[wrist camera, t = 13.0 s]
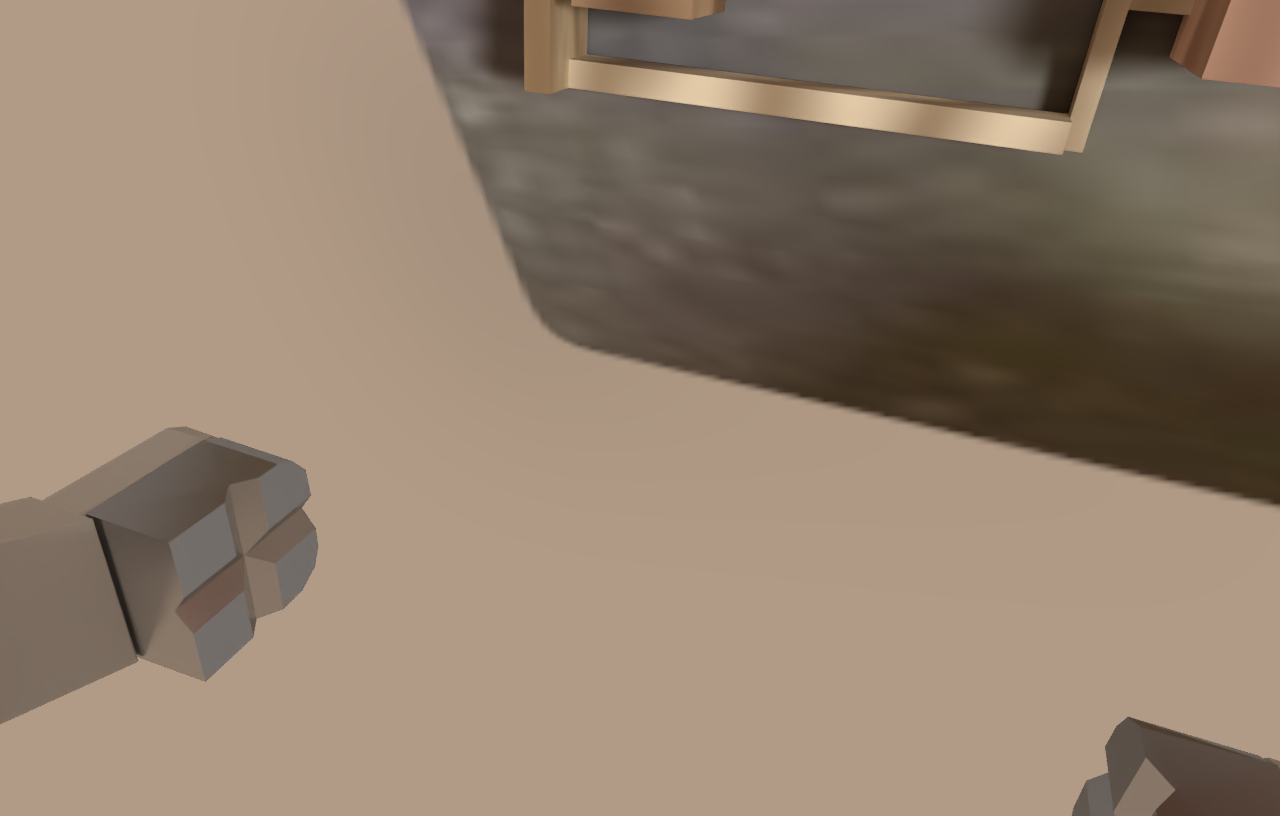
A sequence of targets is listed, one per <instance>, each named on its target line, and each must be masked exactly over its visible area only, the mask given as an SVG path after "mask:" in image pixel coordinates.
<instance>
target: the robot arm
mask: <svg viewBox="0 0 1280 816" xmlns="http://www.w3.org/2000/svg"><path fill="white" fill-rule="evenodd" d="M310 495H311V494H310V489H309V484H308V479H307V475H306V470H305V469H303V468H302V467H300V466H299V465H297V464H295V463H294V462H292V461H289V460H286V459H283V458H280V457H278V456H275V455H271V454H268V453H266V452H262V451H259V450H257V449H254V448H251V447H248V446H245V445H242V444H239V443H236V442H233V441H230V440H227V439H224V438H217V437H214V436H211V435H209V434H206V433H203V432H200V431H197V430H194V429H191V428H188V427H175V428H174V427H173V428H166V429H165V430H163V431H161V432H159V433H158V434H156V435H154V436H153V437H151V438H149V439H147V440H146V441H144V442H142V443H140V444H139V445H137V446H135V447H133V448H132V449H130V450H128V451H127V452H125V453H123V454H122V455H120V456H118V457H116V458H115V459H113V460H111V461H109V462H108V463H106V464H104V465H102V466H101V467H99V468H97V469H96V470H94V471H92V472H90V473H89V474H87V475H85V476H83V477H82V478H80V479H78V480H77V481H75V482H73V483H71V484H70V485H68V486H66V487H65V488H63V489H61V490H59V491H58V492H56V493H54V494H53V495H51V496H49V497H47V498H46V499H44V500H42V501H41V500H38V499H35V498H32V497H28V498H23V499H19V500H15V501H10V502H6V503H2V504H0V724H2V723H4V722H6V721H9V720H11V719H13V718H15V717H17V716H19V715H22V714H24V713H26V712H28V711H30V710H33V709H35V708H37V707H39V706H42V705H44V704H46V703H48V702H50V701H52V700H55V699H57V698H59V697H61V696H64V695H66V694H68V693H70V692H72V691H74V690H77V689H79V688H81V687H83V686H86V685H88V684H90V683H92V682H94V681H96V680H99V679H101V678H103V677H105V676H107V675H110V674H112V673H114V672H116V671H119V670H121V669H123V668H125V667H127V666H130V665H132V664H134V663H136V662H137V661H138V659H137V657H139V658H142V659H145V660H147V661H150V662H153V663H156V664H158V665H161V666H164V667H167V668H169V669H172V670H175V671H178V672H180V673H183V674H186V675H189V676H191V677H194V678H197V679H200V680H202V681H205V682H206V681H207V680H208V679H209V678H210V677H211V676H212V675H213V674H214V673H216V672H217V671H218V670H219V669H220V668H221V667H222V666H223V665H224V664H225V663H226V662H227V661H228V660H229V659H230V658H232V657H233V656H234V655H235V654H236V653H237V652H238V651H239V650H240V649H241V648H242V647H243V646H244V645H245V644H247V642H249V641H250V640H251V639H252V638H253V636H254V631H255V624H256V619H257V618H260V617H263V616H265V615H268V614H271V613H274V612H276V611H279V610H282V609H284V608H285V607H286V606H287V605H288V604H289V603H290V602H291V601H292V600H293V599H294V598H295V597H296V596H297V595H298V594H299V593H300V592H301V591H302V590H303V588H304V586H305V584H306V582H307V580H308V578H309V576H310V575H311V573H312V570H313V569H314V567H315V562H316V555H317V549H318V542H317V535H316V528H315V527H314V525H313V524H312V522H311V521H310V519H309V518H308V517H307V515H306V514H305V512H304V511H303V510H302V506H303V505H304V504H305V502H306V501H307V500H308V498H309V497H310ZM1105 750H1106V757H1107V765H1108V773H1106V774H1104V775H1101V776H1098V777H1095V778H1093V779H1090V780H1087V781H1086V783H1085V785H1084V787H1083V789H1082V791H1081V793H1080V795H1079V798H1078V799H1077V801H1076V803H1075V806H1074V808H1073V813H1072V816H1280V761H1278V760H1274V759H1271V758H1262V757H1260V756H1258V755H1255V754H1251V753H1248V752H1245V751H1241V750H1238V749H1234V748H1231V747H1228V746H1224V745H1221V744H1218V743H1214V742H1211V741H1208V740H1204V739H1201V738H1198V737H1194V736H1191V735H1187V734H1184V733H1181V732H1177V731H1174V730H1171V729H1167V728H1164V727H1161V726H1157V725H1154V724H1151V723H1147V722H1144V721H1140V720H1137V719H1134V718H1131V717H1127V718H1126V719H1125V720H1124V721H1122V722H1121V723H1120V724H1119V725H1117V726H1116V728H1115V730H1114V732H1113V733H1112V735H1111V737H1110V739H1109V740H1108V742H1107V744H1106V746H1105Z"/></svg>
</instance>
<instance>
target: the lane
mask: <svg viewBox="0 0 1280 816" xmlns="http://www.w3.org/2000/svg"><path fill="white" fill-rule="evenodd" d="M1128 10H1137V11H1148V12H1159V13H1170V14H1181V15H1184V16H1183V19H1182V22H1181V25H1180V28H1179V31H1178V33H1177V36H1176V39H1175V42H1174V45H1173V48H1172V50H1171V53H1170V56H1169V58H1171V59H1172V60H1174V61H1175V62H1177V63H1178V64H1180V65H1181V66H1183V67H1184V68H1186V69H1187V70H1189V71H1190V72H1192V73H1193V74H1195V75H1196V76H1198V77H1200V78H1201V79H1208V80H1217V81H1226V82H1235V83H1244V84H1254V85H1263V86H1272V87H1280V0H1103V3H1102V6H1101V9H1100V13H1099V16H1098V19H1097V22H1096V26H1095V29H1094V32H1093V35H1092V39H1091V42H1090V45H1089V48H1088V52H1087V55H1086V58H1085V61H1084V65H1083V68H1082V71H1081V74H1080V78H1079V81H1078V84H1077V87H1076V91H1075V94H1074V97H1073V100H1072V104H1071V107H1070V110H1069V113H1068V114H1066V113H1058V112H1049V111H1041V110H1033V109H1025V108H1017V107H1009V106H1001V105H993V104H985V103H977V102H969V101H961V100H953V99H945V98H937V97H928V96H920V95H912V94H904V93H896V92H888V91H880V90H872V89H864V88H856V87H848V86H840V85H832V84H824V83H815V82H807V81H799V80H791V79H783V78H775V77H767V76H759V75H751V74H743V73H735V72H727V71H719V70H711V69H703V68H694V67H686V66H678V65H670V64H662V63H654V62H646V61H638V60H630V59H622V58H614V57H606V56H598V55H590V54H587V33H588V8H586V7H578V6H571V0H524V91H530V92H537V93H544V94H551V93H554V92H557V91H560V90H563V89H566V88H575V89H582V90H590V91H597V92H604V93H612V94H619V95H626V96H634V97H641V98H648V99H656V100H663V101H670V102H678V103H685V104H692V105H700V106H707V107H715V108H722V109H729V110H737V111H744V112H751V113H759V114H766V115H773V116H781V117H788V118H795V119H803V120H810V121H817V122H825V123H832V124H839V125H847V126H854V127H861V128H869V129H876V130H883V131H891V132H898V133H905V134H913V135H920V136H927V137H935V138H942V139H949V140H957V141H964V142H971V143H979V144H986V145H993V146H1001V147H1008V148H1015V149H1023V150H1030V151H1037V152H1045V153H1052V154H1059V155H1062V154H1063V151H1064V150H1067V151H1074V152H1083V149H1084V146H1085V143H1086V140H1087V136H1088V133H1089V130H1090V127H1091V124H1092V121H1093V118H1094V115H1095V112H1096V109H1097V105H1098V102H1099V99H1100V96H1101V93H1102V90H1103V87H1104V84H1105V81H1106V78H1107V75H1108V71H1109V68H1110V65H1111V62H1112V59H1113V56H1114V53H1115V50H1116V47H1117V44H1118V41H1119V37H1120V34H1121V31H1122V28H1123V25H1124V22H1125V19H1126V16H1127V13H1128Z"/></svg>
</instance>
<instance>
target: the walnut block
mask: <svg viewBox="0 0 1280 816" xmlns="http://www.w3.org/2000/svg"><path fill="white" fill-rule="evenodd" d="M571 6H578V7H586V8H595V9H603V10H612V11H620V12H629V13H637V14H646V15H654V16H663V17H672V18H680V19H689V20H692V19H696V18H700V17H703V16H707V15H711V14H715V13H719V12H723V11H724V9H725V0H571Z"/></svg>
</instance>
